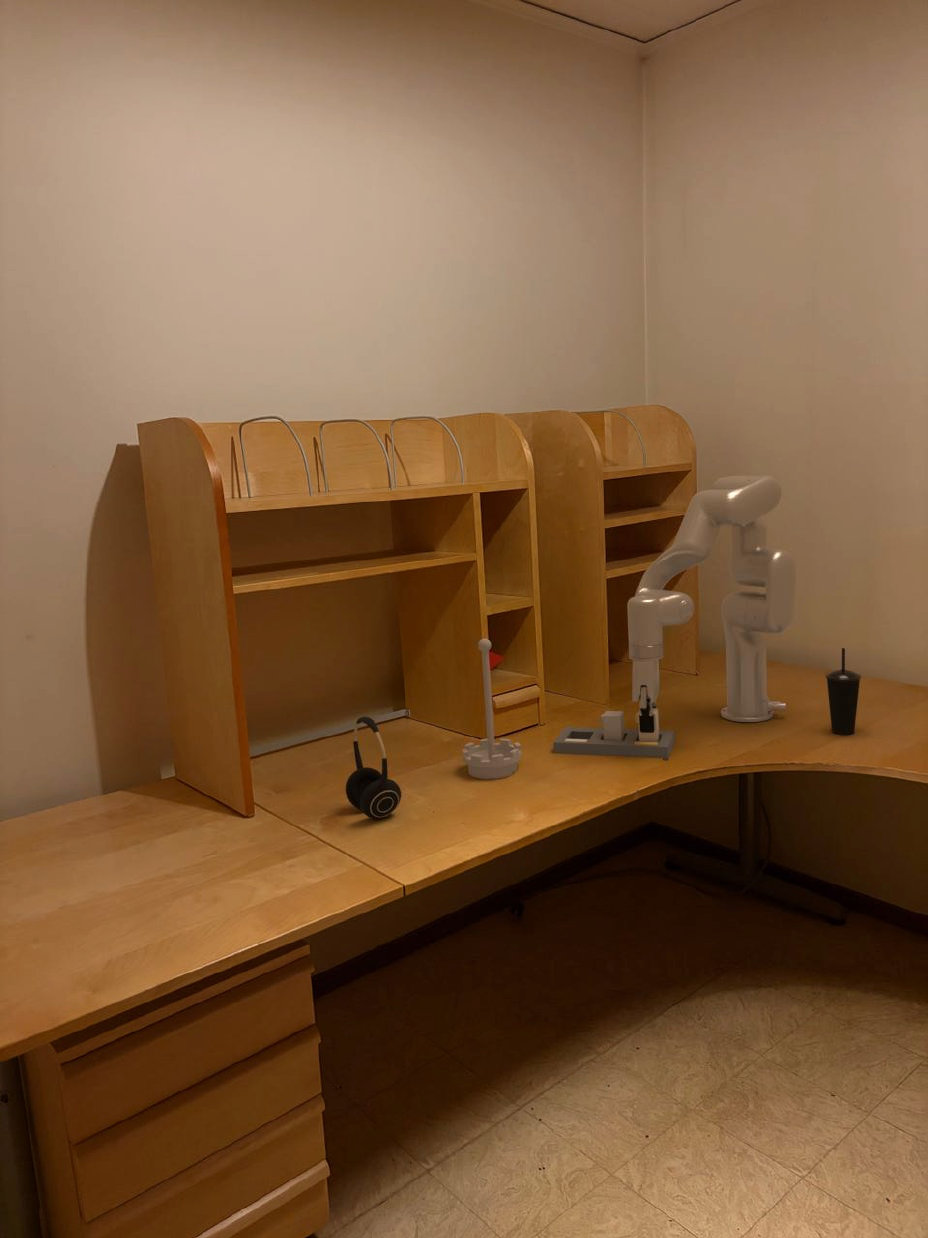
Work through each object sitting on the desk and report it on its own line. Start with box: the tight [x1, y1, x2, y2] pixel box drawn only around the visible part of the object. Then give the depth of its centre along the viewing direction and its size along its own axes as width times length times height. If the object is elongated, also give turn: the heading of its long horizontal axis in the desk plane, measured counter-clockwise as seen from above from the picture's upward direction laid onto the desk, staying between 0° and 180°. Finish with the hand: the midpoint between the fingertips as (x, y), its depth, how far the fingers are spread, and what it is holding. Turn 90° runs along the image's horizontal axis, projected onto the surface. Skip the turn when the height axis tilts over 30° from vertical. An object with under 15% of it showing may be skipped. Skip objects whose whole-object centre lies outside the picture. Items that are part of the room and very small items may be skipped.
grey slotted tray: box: [552, 710, 676, 761], centre depth 216 cm, size 26×12×8 cm, turn 71°
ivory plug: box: [635, 708, 660, 742], centre depth 213 cm, size 5×4×8 cm
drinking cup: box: [825, 647, 862, 736], centre depth 215 cm, size 8×8×20 cm
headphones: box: [345, 716, 402, 820], centre depth 186 cm, size 9×15×20 cm, turn 30°
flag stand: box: [461, 638, 522, 780], centre depth 205 cm, size 13×13×30 cm
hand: (648, 728), depth 213 cm, fingers open, 4 cm apart
